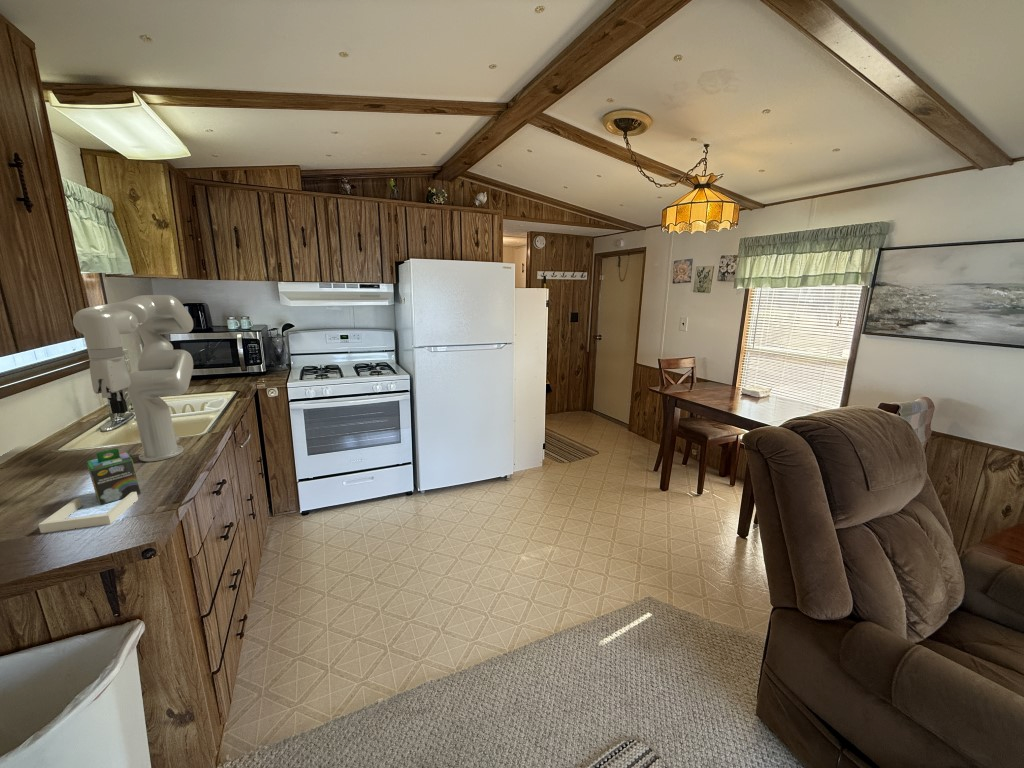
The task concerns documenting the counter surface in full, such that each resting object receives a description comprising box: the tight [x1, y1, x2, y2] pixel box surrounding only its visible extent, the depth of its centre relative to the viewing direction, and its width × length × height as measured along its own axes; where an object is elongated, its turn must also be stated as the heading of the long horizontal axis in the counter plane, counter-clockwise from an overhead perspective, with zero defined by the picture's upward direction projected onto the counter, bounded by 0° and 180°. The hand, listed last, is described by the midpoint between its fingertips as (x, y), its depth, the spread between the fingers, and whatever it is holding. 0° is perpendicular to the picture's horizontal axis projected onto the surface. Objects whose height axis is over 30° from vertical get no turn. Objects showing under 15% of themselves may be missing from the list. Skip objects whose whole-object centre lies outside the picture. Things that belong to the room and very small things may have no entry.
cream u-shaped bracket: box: [38, 492, 139, 534], centre depth 113 cm, size 13×14×2 cm
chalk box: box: [86, 447, 142, 506], centre depth 122 cm, size 9×9×15 cm
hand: (120, 412), depth 127 cm, fingers closed
